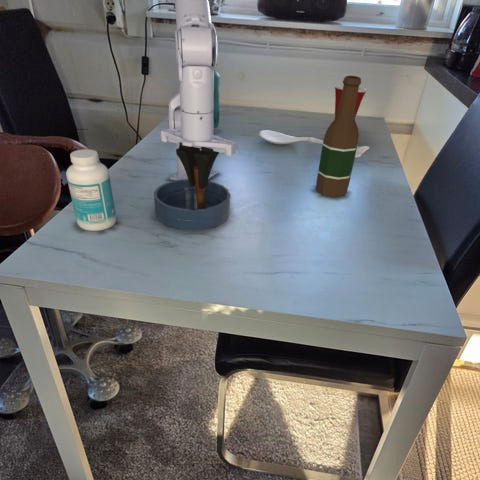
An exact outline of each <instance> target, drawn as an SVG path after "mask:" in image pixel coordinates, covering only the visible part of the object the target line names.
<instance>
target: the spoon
mask: <svg viewBox="0 0 480 480" xmlns="http://www.w3.org/2000/svg"><path fill="white" fill-rule="evenodd" d="M258 135H259V138H261V139H262V140H264V141H266V142H267V143H271V144H274V145H278V146H279V145H282V146H283V145H290V144H293V143H294V144H295V143H298V142H309V143H312V144H319V145H321V146H322V145H323V140H324V139H318V138H316V137H310V136H302V137H301V136H300V137H297V136H293V135H289V134H285V133H282V132H279V131H275V130H269V129H262V130H260V131H259V133H258ZM369 149H370V147H369V146H368V145H363V146H357V149H356V154H355V159H359V158H360V157H361V156H362V155H363V154H364V153H365V152H366V151H367V150H369Z"/></svg>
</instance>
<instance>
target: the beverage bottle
mask: <svg viewBox="0 0 480 480" xmlns="http://www.w3.org/2000/svg"><path fill="white" fill-rule="evenodd" d="M217 63H218V62H217ZM217 63H216V67H217V65H218V64H217ZM211 68H214V66H213V63H212V66H211ZM213 70H214V110H213V118H214V129H217V128H219V126H220V125H219V124H220V103H221V101H220V96H221V95H220V78H221V75H220V74H219V73H218V71H217V70H216V69H213Z"/></svg>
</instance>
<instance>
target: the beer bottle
mask: <svg viewBox="0 0 480 480" xmlns="http://www.w3.org/2000/svg"><path fill="white" fill-rule="evenodd" d="M361 84H362V79H361V77H360V76H357V75H346V76H344V78H343V80H342V85H344V86H343V90H342V94H341V98H340V103H339V107H338V111H337V114H336V117H335V116H334V120H332V122H331V123H330V125H329V126H328V128H327V129H326V131H325V133H324V136H323V139H322V140H323V145H322V144H321V152H320V158H319V163H318V170H317V176H316V183H315V192H316V193H318V194H319V195H320V196H322V197H325V198H326V197H327V198H332V199H336V198H342V197H343V198H344V197H345V196H346V194H347V192H348V189H349V185H350V181H351V176H352V171H353V167H354V162H355V159H356V158H355V154H356V149H357V148H358V146H359V145H358V143H359V137H360V134H359V127H358V125H357V123H356V117H355V110H356V103H357V96H358V89H359V87H360V85H361Z"/></svg>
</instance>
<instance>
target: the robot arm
mask: <svg viewBox="0 0 480 480" xmlns="http://www.w3.org/2000/svg"><path fill="white" fill-rule="evenodd" d="M173 3H174V11H175V23H176V24H175V25H176V29H175V31H174V47H175V48H174V49H175V62H176V66H177V74H178V75H177V76H178V81H179V91H178V92H177V93H175V95H173V96H171V97H170V99H169V102H168V123H169V124H168V125H169V126H168V127H169V128H163V129H162V130H160V139H161V142H162V143H168V142H169V143H174V144H175V154H176V170H177V171H176V173H175V174H172V175H171V176H170V177H169V179H170V180H172V181H176V180H182V179H188V181H189V185H190V186H192V187H193V186H194V185H195V180H194V171H193V167H194V166H197V167H198V183H199V188H200V189H203V188H205V187H206V186H207V184H208V181H209V180H211V178H213V177H214V176H216V175H217V174H218V172H217V171H215V168H214V167H215V164H214V163H215V162H216V159H217V158H218V156H219V154H220V153H221V154H225V155H226V156H228V157H231V156H233V155H235V154H236V151H237V149H236V148H237V142H236V141H233V140H229V139H226V138H223V137H221V136H218V135H215V134H214V130H215V128H214V118H213V110H214V70H216V67H217V66H216V63H218V35H217V29H216V26H215V24H214V23H212V18H211V17H212V16H211V9H210V1H209V0H173ZM212 63H213V66H214V67H211V66H212ZM178 107H179V108H178Z"/></svg>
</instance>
